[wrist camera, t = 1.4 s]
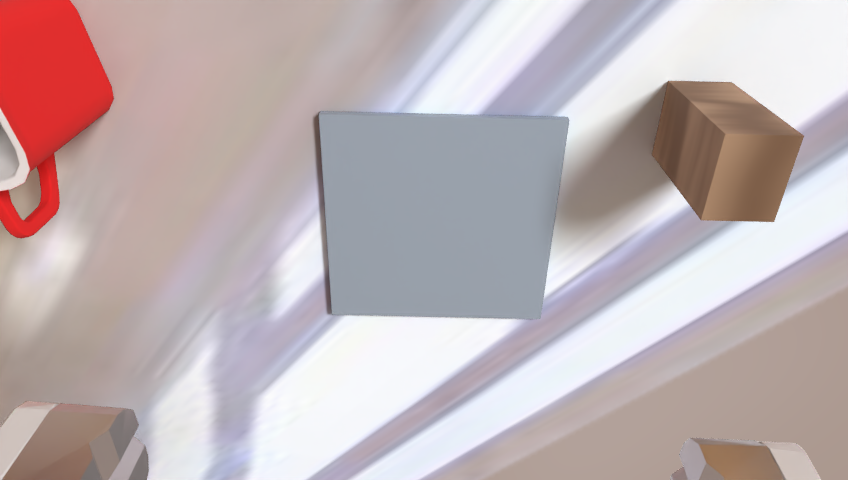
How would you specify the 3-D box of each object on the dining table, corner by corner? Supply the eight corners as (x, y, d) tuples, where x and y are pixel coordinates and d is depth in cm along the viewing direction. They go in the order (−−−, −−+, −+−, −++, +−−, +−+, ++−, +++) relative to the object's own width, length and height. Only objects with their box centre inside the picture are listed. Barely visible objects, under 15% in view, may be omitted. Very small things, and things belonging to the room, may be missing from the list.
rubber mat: (333, 309, 49) (332, 314, 49) (320, 111, 41) (318, 114, 41) (539, 314, 49) (540, 318, 49) (567, 117, 41) (569, 120, 41)
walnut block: (651, 154, 43) (701, 220, 35) (668, 80, 40) (725, 134, 32) (715, 155, 43) (779, 222, 35) (736, 82, 40) (809, 135, 32)
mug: (-61, 5, 38) (-216, 52, 29) (67, -23, 37) (-50, 16, 28) (38, 184, 44) (-64, 269, 35) (151, 163, 43) (76, 245, 34)
